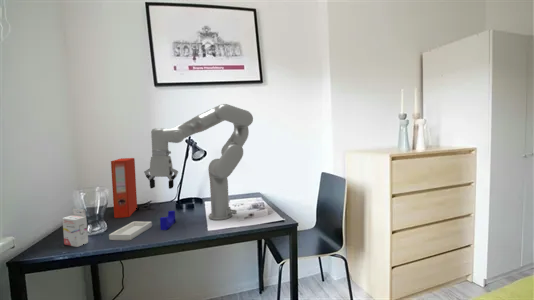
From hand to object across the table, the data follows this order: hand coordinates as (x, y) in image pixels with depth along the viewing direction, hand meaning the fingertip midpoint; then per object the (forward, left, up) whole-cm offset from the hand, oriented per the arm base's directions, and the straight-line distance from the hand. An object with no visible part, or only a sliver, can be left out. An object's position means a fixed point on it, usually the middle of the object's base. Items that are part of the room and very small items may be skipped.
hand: (161, 188), depth 131 cm
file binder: (+35, -20, -19) cm, 45 cm away
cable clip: (-1, -1, -20) cm, 20 cm away
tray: (+11, +10, -19) cm, 24 cm away
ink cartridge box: (+28, +23, -19) cm, 41 cm away
